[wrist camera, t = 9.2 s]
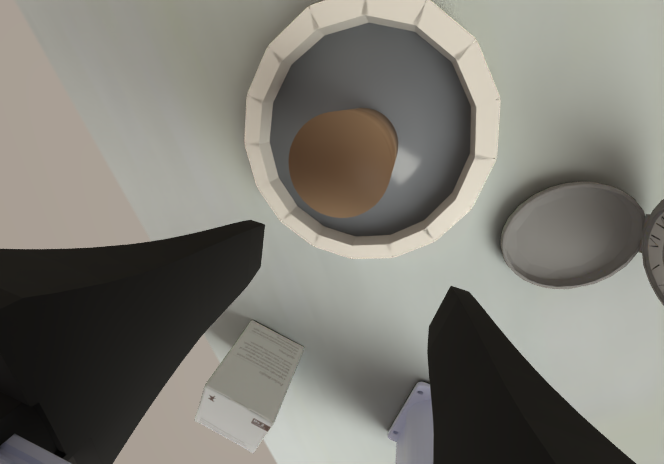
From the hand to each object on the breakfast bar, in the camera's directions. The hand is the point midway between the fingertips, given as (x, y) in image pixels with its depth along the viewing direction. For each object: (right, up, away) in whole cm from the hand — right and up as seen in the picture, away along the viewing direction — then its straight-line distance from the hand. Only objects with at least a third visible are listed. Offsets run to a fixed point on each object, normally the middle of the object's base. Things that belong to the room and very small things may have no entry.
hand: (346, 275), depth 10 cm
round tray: (+1, +7, +7) cm, 10 cm away
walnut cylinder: (+1, +7, +6) cm, 9 cm away
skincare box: (-7, -10, +18) cm, 22 cm away
